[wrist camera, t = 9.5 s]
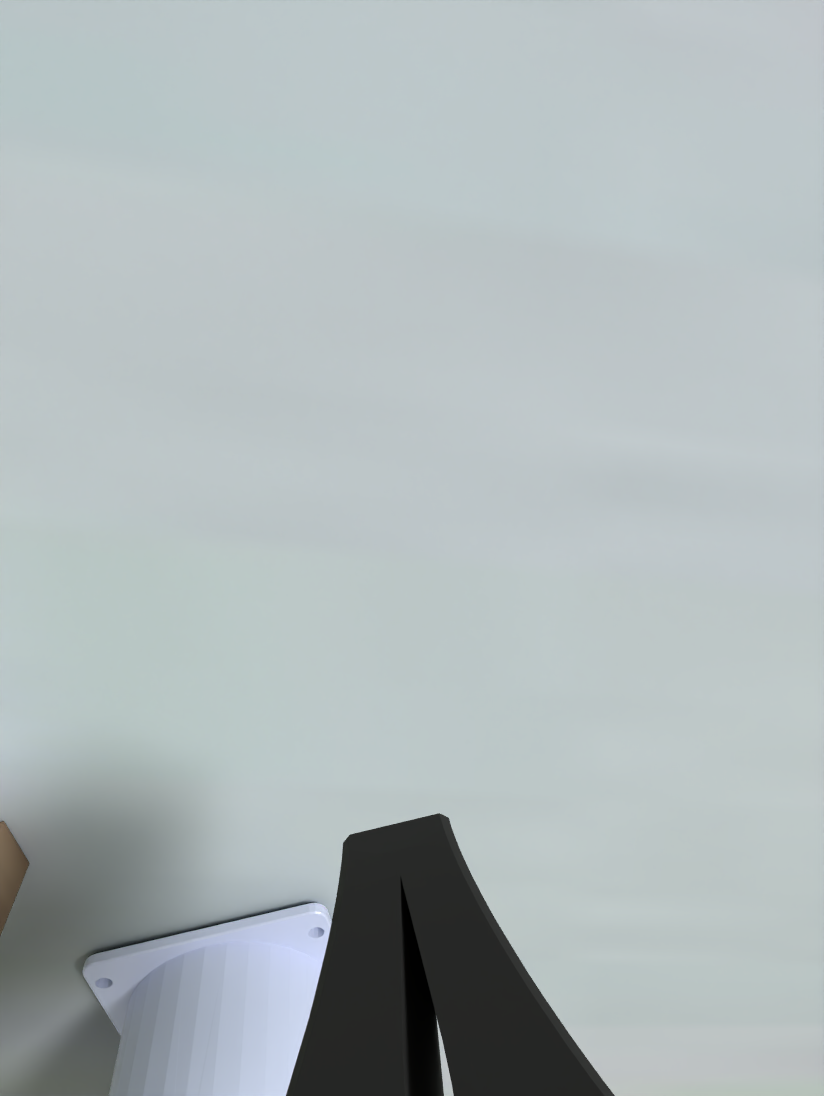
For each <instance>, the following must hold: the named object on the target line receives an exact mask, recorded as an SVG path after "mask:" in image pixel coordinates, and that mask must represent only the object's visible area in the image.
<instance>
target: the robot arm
mask: <svg viewBox="0 0 824 1096" xmlns="http://www.w3.org/2000/svg"><path fill="white" fill-rule="evenodd" d="M82 973H83V976H84V978H85V980H86V981H87V983H88V985H89V986H90V988H91V989H92V991H93V993H94V994H95V996H96V997H97V999H98V1001H99V1002H100V1004H101V1005H102V1007H103V1009H104V1010H105V1012H106V1014H107V1015H108V1017H109V1018H110V1020H111V1022H112V1023H113V1025H114V1026H115V1028H116V1030H117V1031H118V1033H119V1034H120V1036H121V1039H120V1044H119V1049H118V1053H117V1058H116V1063H115V1068H114V1072H113V1077H112V1082H111V1086H110V1091H109V1096H444V1093H443V1082H442V1071H441V1061H440V1050H439V1040H438V1029H437V1020H438V1024H439V1028H440V1032H441V1036H442V1040H443V1044H444V1049H445V1054H446V1058H447V1063H448V1068H449V1072H450V1077H451V1082H452V1087H453V1093H454V1096H614V1094H613V1093H612V1092H611V1090H610V1089H609V1088H608V1086H607V1085H606V1084H605V1083H604V1081H603V1080H602V1079H601V1077H600V1076H599V1075H598V1073H597V1072H596V1070H595V1069H594V1068H593V1066H592V1065H591V1064H590V1062H589V1061H588V1060H587V1058H586V1057H585V1055H584V1054H583V1053H582V1051H581V1050H580V1048H579V1047H578V1046H577V1044H576V1043H575V1042H574V1040H573V1039H572V1037H571V1036H570V1035H569V1033H568V1032H567V1030H566V1029H565V1027H564V1026H563V1024H562V1023H561V1021H560V1020H559V1019H558V1017H557V1016H556V1014H555V1013H554V1011H553V1010H552V1008H551V1007H550V1005H549V1004H548V1003H547V1001H546V1000H545V998H544V997H543V995H542V994H541V992H540V991H539V989H538V988H537V986H536V984H535V983H534V981H533V980H532V978H531V977H530V975H529V974H528V972H527V971H526V969H525V967H524V966H523V964H522V963H521V961H520V959H519V958H518V956H517V954H516V953H515V951H514V949H513V948H512V946H511V945H510V943H509V941H508V940H507V938H506V936H505V935H504V933H503V931H502V930H501V928H500V927H499V925H498V923H497V921H496V920H495V918H494V916H493V914H492V913H491V911H490V909H489V907H488V906H487V904H486V902H485V900H484V898H483V896H482V894H481V892H480V890H479V888H478V887H477V885H476V883H475V881H474V879H473V877H472V875H471V873H470V871H469V869H468V867H467V864H466V862H465V860H464V858H463V856H462V853H461V851H460V849H459V846H458V844H457V841H456V839H455V836H454V834H453V831H452V828H451V824H450V821H449V818H448V817H446V816H444V815H442V814H440V813H439V814H435V815H430V816H426V817H422V818H418V819H414V820H409V821H405V822H401V823H397V824H393V825H389V826H384V827H380V828H376V829H372V830H368V831H363V832H359V833H355V834H351V835H349V836H348V838H347V839H346V840H345V841H344V843H343V853H342V863H341V871H340V878H339V885H338V891H337V897H336V903H335V908H334V913H333V918H332V921H331V919H330V916H329V913H328V910H327V908H326V907H325V906H323V905H322V904H319V903H309V904H305V905H300V906H296V907H292V908H288V909H283V910H279V911H275V912H271V913H266V914H262V915H258V916H254V917H249V918H245V919H241V920H237V921H232V922H228V923H224V924H220V925H216V926H211V927H207V928H203V929H199V930H194V931H190V932H186V933H182V934H177V935H173V936H169V937H165V938H160V939H156V940H152V941H148V942H143V943H139V944H135V945H131V946H126V947H122V948H118V949H114V950H109V951H105V952H101V953H97V954H94V955H91V956H90V957H88V958H87V959H86V961H85V964H84V968H83V971H82ZM436 1016H437V1019H436Z"/></svg>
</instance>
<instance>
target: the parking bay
mask: <svg viewBox="0 0 824 1096" xmlns="http://www.w3.org/2000/svg"><path fill="white" fill-rule="evenodd" d="M28 866H29V862H28V860H27V859H26V857H25V855H24V854H23V852H22V850H21V849H20V847H19V845H18V844H17V842H16V840H15V839H14V837H13V836H12V834H11V832H10V831H9V829H8V827H7V826H6V824H5V822H4V821H3V822H0V935H1V933H2V930H3V928H4V925H5V923H6V920H7V918H8V915H9V913H10V910H11V908H12V905H13V903H14V901H15V898H16V896H17V893H18V891H19V888H20V886H21V883H22V881H23V878H24V876H25V873H26V871H27V868H28Z"/></svg>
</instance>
